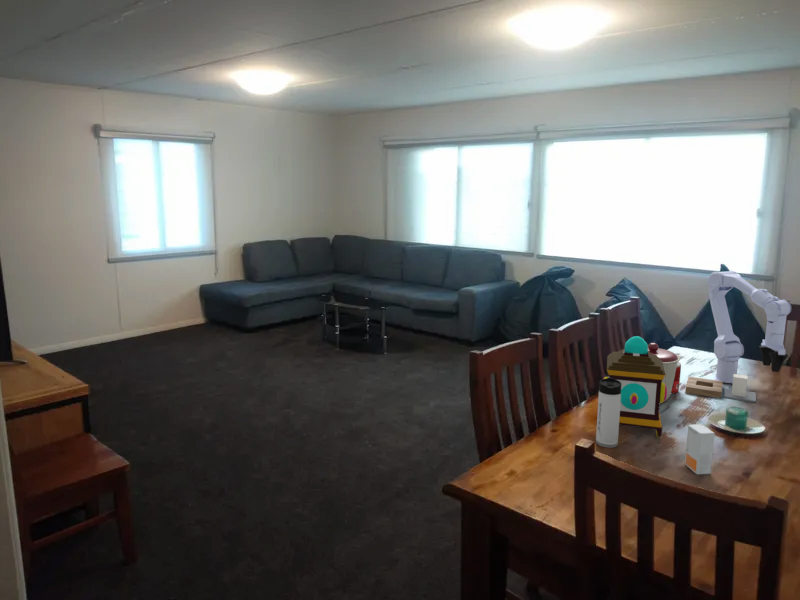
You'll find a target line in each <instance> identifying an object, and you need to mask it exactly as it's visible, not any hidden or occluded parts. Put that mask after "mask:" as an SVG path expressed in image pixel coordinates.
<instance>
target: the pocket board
mask: <svg viewBox="0 0 800 600" xmlns="http://www.w3.org/2000/svg"><path fill="white" fill-rule="evenodd" d="M723 383H724V382H723V381H718V380H714V379H710V378H709V379H708V378H703V377H702V378H701V377H696V376H695V377H694V376H688V377H687V381H686V384H685V389H684V390H685V392H684V393H685V394H692V395H698V396H704V397H705V396H706V397H711V398H712V397H713V398H717V399H722V395H723V393H722V392H723V385H724V384H723Z"/></svg>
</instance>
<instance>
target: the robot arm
mask: <svg viewBox="0 0 800 600" xmlns="http://www.w3.org/2000/svg"><path fill="white" fill-rule="evenodd" d="M706 282H707V285H708V292H707V294H708V298H709V302H710V306H711V307H710V308H711V312H712V316H713V319H714V323H715V328H716V332H717V337H716V338H715V339H714V341H713V343H714V344H713V345H714V349H713V352H714V355H715V357H716V359H717V362H716V373H715V374H714V379H713V380H718V381H723V383H727V384H731V385H733V375H734V374H738V367H739V366H738V365H739V360H740V358H741V357H742V356H743V355H744V354H745V353H744V352H745V348H744V345H743V344H742V343H741V340H740V338H739V336H737V335H736V334H734V331H733V325H732V322H731V318H730V314H729V309H728V305H727V301H726V297H725V296H726V295H727V293H728V292H729V291H730V290H732V289H733V288H735V289H738V290H739V291H741V292H743V294H745V295H748V296H749V297H750V299H751V302H752V303H754V304H755V305H757V306H759V307H760V308H762V309H764V313H765V314H766V315H765V316H766V328H765V329H766V330H765V339H763V338H762V341H761V343H760V345H759V346H758V349H759V351H760V354H761V360H762V365H763V366H765V367H766V366H767V367H770V366H771V372H772V373H779V372H780V371H781V367H782V365H783V364H784V363H785V360H786V359H787V358H788V357H789V355H788V354H787V353H786V349H785V346H784V339H785V334H786V333H785V332H786V323H787V316H788V315H789V314H790V313H791V312H792V305H791V303H790V302H789V301H788V300H787V299H780V298H779V297H778V296H774V295H773V294H772V293H770V292H768V291H769V290H768V289H766V288H756V287H755V286H754V285H752V284H751V283H749V282H748V281H747V280H746V279H744V278H743V277H742V276H741V274H739V273H737V272H736V271H734V270H728V271H713V272H711V273H710V275H709V276H708V278H707V281H706Z"/></svg>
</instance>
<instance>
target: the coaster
mask: <svg viewBox="0 0 800 600" xmlns="http://www.w3.org/2000/svg"><path fill="white" fill-rule="evenodd" d="M724 399H731V400H737V401H744V402H749V403H750V402H752V403H756V402H757V394H756V392H754V391H749V390H748V391H747V390H746V397H742V396H735V395H732V388H724Z"/></svg>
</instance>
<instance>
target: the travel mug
mask: <svg viewBox="0 0 800 600" xmlns="http://www.w3.org/2000/svg"><path fill="white" fill-rule="evenodd" d="M598 387H599V389H598V397H597V398H598V401H597V402H598V403H597V416H596V417H597V418H596V419H597V420H596V431H595V432H596V433H595V443H596V444H597V445H598V446H599V447H602V448H605V449H606V448H607V449H613V448H616V447H617V446H619V445H618V444H619V443H618V442H619V433H620V431H619V429H620V425H619V417H620V402H621V382H620V381H618V380H615V379H613V378H608V379H603V378H602V379H601V380H599V385H598Z"/></svg>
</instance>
